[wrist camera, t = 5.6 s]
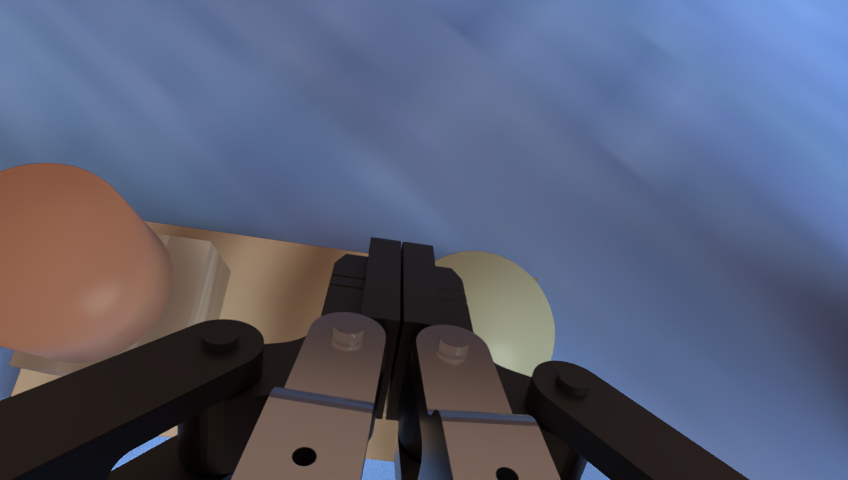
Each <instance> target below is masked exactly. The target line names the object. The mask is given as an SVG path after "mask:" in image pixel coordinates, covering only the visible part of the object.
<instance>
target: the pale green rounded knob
mask: <svg viewBox="0 0 848 480" xmlns="http://www.w3.org/2000/svg"><path fill="white" fill-rule="evenodd" d="M435 266H439V267H446V268H452V269H453V270H454V271H455V272H456V273H457V275H458V276H459V277H460V278H461V279H462V281H463V285H464V290H465V295H466V299H467V304H468V309H469V313H470V318H471V323H472V327H473V332H474V334H476V335H477V336H479V337H480V338H481V339H482V340H483V341H484V342H485V343H486V344H487V346H488V348H489V350H490V353H491V356H492V359H493V361H494V362H495V363H496V364H498V365H500V366H502V367H504V368H507V369H509V370H512V371H515V372H518V373H521V374H524V375H527V376H530V377H532V374H533V371H534V369H535V367H536V366H537V365H539V364H541V363H543V362H547V361H550V360H551V357H552V354H553V349H554V342H555V326H554V320H553V315H552V311H551V308H550V305H549V303H548V301H547V298H546V296H545V295H544V293H543V291H542V289H541V288H540V286H539V285H538V284H537V283H536V281H535V280H534V279H533V278H532V277H531V276H530V275H529V274H528V273H527V272H526V271H525V270H524V269H522V268H521V267H520V266H518V265H517V264H515V263H514V262H512V261H510V260H508V259H506V258H504V257H502V256H499V255H496V254H492V253H488V252H481V251H464V252H458V253H454V254H451V255H447V256H445V257H443V258H441V259H438V260H437V261H435Z"/></svg>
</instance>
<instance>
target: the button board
mask: <svg viewBox="0 0 848 480" xmlns="http://www.w3.org/2000/svg"><path fill="white" fill-rule="evenodd" d="M144 222H145V223H146V224H147V225H148V226H149V227H150V228H151V229H152V230H153V231H154V232H155V233H156V235H157V236H158V237H159V238H160V239H161V241H162V242H163V244H164V245H165V247H166V249H167V251H168V254H169V256H170V259H171V263H172V270H173V282H172V289H171V294H170V297H169V300H168V303H167V305H166V307H165V309H164V311H163V313H162V315H161V316H160V318H159V319H158V321H157V322H156V323H155V325H154V326H153V327H152V328H151V329H150V330H149V331H148V332H147V333H146V334H145V335H144V336H143V337H142V338H141V339H140V340H138V341H137V342H136V343H134V344H133V345H131V346H130V347H128V348H126V349H125V350H123V351H121V352H119V353H117V354H114V355H112V356H110V357H107V358H103V359H100V360H96V361H91V362H82V363H67V362H60V361H54V360H50V359H46V358H43V357H39V356H35V355H31V354H27V353H24V352H20V351H16V350H14V353H13V355H12V358H11V360H10V363H9V366H13V367H17V368H21V371H20V373H19V376H18V379H17V382H16V384H15V387H14V390H13V392H12V395H11V396H14V395H17V394H19V393H22V392H24V391H27V390H29V389H32V388H34V387H37V386H39V385H42V384H45V383H47V382H50V381H52V380H55V379H57V378H60V377H62V376H65V375H67V374H70V373H73V372H75V371H78V370H80V369H83V368H85V367H88V366H90V365H93V364H95V363H98V362H101V361H103V360H106V359H108V358H111V357H113V356H116V355H118V354H121V353H123V352H126V351H128V350H131V349H134V348H136V347H139V346H141V345H144V344H146V343H149V342H151V341H154V340H156V339H159V338H162V337H164V336H167V335H169V334H172V333H174V332H177V331H179V330H182V329H184V328H187V327H190V326H192V325H195V324H197V323H200V322H204V321H209V320H216V319H231V320H238V321H242V322H245V323H248V324H250V325H252V326H254V327H255V328H256V329H258V330H259V331H260V333H261V334H262V336H263V338H264V344H270V343H282V342H289V341H293V340H297V339H300V338H302V337H304V336H306V335H307V333H308V331H309V328H310V326H311V325H312V323H313V322H314V321H315V320H316V319H318V318H319V317H321V313H322V309H323V306H324V302H325V298H326V294H327V290H328V286H329V282H330V278H331V275H332V271H333V267H334V263H335V262H336V261H337V260H339V259H340V258H341V257H342V256H344V255H345V254H352V255H359V256H366V257H368V254H367V253H360V252H353V251H347V250H340V249H333V248H326V247H319V246H312V245H305V244H298V243H292V242H285V241H278V240H271V239H264V238H257V237H250V236H244V235H237V234H230V233H223V232H216V231H209V230H202V229H196V228H189V227H182V226H175V225H168V224H161V223H154V222H147V221H144ZM533 279H534V280H535V281H536V283H537V278H533ZM386 397H387V396H386ZM397 433H398V421H394V420H386V401H385V407H384V412H383V418H382V419H375V425H374V431H373V435H372V437H371V439H370V440H369V442H368V446H367V451H366V457H365V458H366V459H375V460H384V461H393V462H394V448H395V443H396V438H397ZM177 434H178V431H177V426H175V427H173V428H172V429H170V430H168V431H166V432H164V433H162V434H160V435H159V436H165V437H174V436H176V435H177Z"/></svg>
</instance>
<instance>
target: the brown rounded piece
mask: <svg viewBox="0 0 848 480" xmlns="http://www.w3.org/2000/svg"><path fill="white" fill-rule="evenodd" d="M172 282H173V270H172V263H171V259H170V256H169V254H168V251H167V249H166V247H165V245H164V244H163V242H162V241H161V239H160V238H159V237H158V236H157V235H156V233H155V232H154V231H153V230H152V229H151V228H150V227H149V226H148V225H147V224H146V223H145V222H144V221H143V219H142V218H141V217H140V216H139V215H138V214H137V213H136V212H135V211H134V210H133V209H132V208H131V207H130V205H129V204H128V203H127V202H126V201H125V200H124V199H123V198H122V197H121V196H120V195H119V194H118V192H117V191H116V190H115V189H114V188H113V187H111V186H110V185H109V184H108V183H107V182H106V181H104V180H103V179H101V178H100V177H98V176H97V175H95V174H93V173H90V172H88V171H86V170H83V169H80V168H77V167H74V166H69V165H64V164H55V163H36V164H28V165H22V166H17V167H13V168H9V169H6V170H3V171H0V346H1V347H5V348H8V349H12V350H16V351H20V352H24V353H27V354H31V355H35V356H39V357H43V358H46V359H50V360H54V361H60V362H67V363H82V362H91V361H96V360H100V359H103V358H107V357H110V356H112V355H114V354H117V353H119V352H121V351H123V350H125V349H126V348H128V347H130V346H131V345H133V344H134V343H136V342H137V341H138V340H140V339H141V338H142V337H143V336H144V335H145V334H146V333H147V332H148V331H149V330H150V329H151V328H152V327H153V326H154V325H155V323H156V322H157V321H158V319H159V318H160V316H161V315H162V313H163V311H164V309H165V307H166V305H167V303H168V300H169V297H170V294H171V289H172Z"/></svg>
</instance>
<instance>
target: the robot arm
mask: <svg viewBox="0 0 848 480" xmlns="http://www.w3.org/2000/svg"><path fill="white" fill-rule="evenodd" d="M386 396H387V397H386ZM385 401H386V420H394V421H398V433H397V438H396V443H395V448H394V465H395V478H396V480H580V479H581V476H582V474H583V471H584V469H585V466H586V464H587V461H588V462H590V463H591V464H592V465H593V466H594V467H596V468H597V469H598V470H599V471H601V472H602V473H603V474H604V475H606V476H607V477H608V478H609V479H610V480H749V479H748V478H746V477H745V476H743V475H742V474H740V473H739V472H737V471H736V470H734V469H733V468H731V467H730V466H728V465H727V464H725V463H724V462H723V461H721V460H720V459H718V458H717V457H715V456H714V455H712V454H711V453H709V452H708V451H706V450H705V449H703V448H702V447H701V446H699V445H698V444H696V443H695V442H693V441H692V440H690V439H689V438H687V437H686V436H684V435H683V434H681V433H680V432H678V431H677V430H676V429H674V428H673V427H671V426H670V425H668V424H667V423H665V422H664V421H662V420H661V419H659V418H658V417H656V416H655V415H653V414H652V413H651V412H649V411H648V410H646V409H645V408H643V407H642V406H640V405H639V404H637V403H636V402H634V401H633V400H631V399H630V398H628V397H627V396H626V395H624V394H623V393H621V392H620V391H618V390H617V389H615V388H614V387H612V386H611V385H609V384H608V383H606V382H605V381H603V380H602V379H601V378H599V377H598V376H596V375H595V374H593V373H592V372H590V371H588V370H587V369H584V368H582V367H580V366H578V365H575V364H572V363H568V362H563V361H547V362H543V363H541V364H539V365H537V366H536V367H535V369H534V371H533V374H532V377H530V376H527V375H524V374H521V373H518V372H515V371H512V370H509V369H507V368H504V367H502V366H500V365H498V364H496V363H495V362H494V361H493V359H492V356H491V353H490V350H489V348H488V346H487V344H486V343H485V342H484V341H483V340H482V339H481V338H480V337H479V336H477V335H476V334H474V332H473V327H472V323H471V318H470V313H469V309H468V304H467V299H466V295H465V290H464V285H463V281H462V279H461V278H460V277H459V276H458V275H457V273H456V272H455V271H454V270H453V269H452V268H446V267H439V266H435V259H434V251H433V246H430V245H423V244H416V243H409V242H403V243H402V247H401V241H395V240H388V239H381V238H374V237H371V241H370V247H369V254H368V257H366V256H359V255H352V254H345V255H344V256H342V257H341V258H340V259H339V260H337V261H336V262H335V263H334V267H333V271H332V275H331V278H330V282H329V286H328V290H327V294H326V298H325V302H324V306H323V309H322V313H321V317H319V318H318V319H316V320H315V321H314V322H313V323H312V325H311V326H310V328H309V331H308V333H307V335H306V336H304V337H302V338H300V339H297V340H293V341H289V342H282V343H270V344H264V338H263V336H262V334H261V333H260V331H259V330H258V329H256V328H255V327H254V326H252V325H250V324H248V323H245V322H242V321H238V320H231V319H216V320H209V321H204V322H200V323H197V324H195V325H192V326H190V327H187V328H184V329H182V330H179V331H177V332H174V333H172V334H169V335H167V336H164V337H162V338H159V339H156V340H154V341H151V342H149V343H146V344H144V345H141V346H139V347H136V348H134V349H131V350H128V351H126V352H123V353H121V354H118V355H116V356H113V357H111V358H108V359H106V360H103V361H101V362H98V363H95V364H93V365H90V366H88V367H85V368H83V369H80V370H78V371H75V372H73V373H70V374H67V375H65V376H62V377H60V378H57V379H55V380H52V381H50V382H47V383H45V384H42V385H39V386H37V387H34V388H32V389H29V390H27V391H24V392H22V393H19V394H17V395H14V396H11V397H9V398H6V399H4V400H1V401H0V480H361V479H362V474H363V468H364V463H365V457H366V451H367V446H368V442H369V440H370V439H371V437H372V435H373V431H374V425H375V419H382V418H383V412H384V407H385ZM175 426H177V431H178V434H177V435H176V436H174V437H172V438H170V439H168V440H167V441H165V442H163V443H161V444H159V445H158V446H156V447H154V448H152V449H150V450H149V451H147V452H145V453H143V454H141V455H139V456H138V457H136V458H134V459H132V460H130V461H129V462H127V463H125V464H123V465H121V466H120V467H118V468H116V469H114V470H112V468H113V467H114V465H115V464H116V463H117V462H118V461H119V460H120V459H121V458H122V457H123V456H124V455H125V454H127V453H128V452H129V451H131V450H133V449H135V448H136V447H138V446H140V445H142V444H144V443H146V442H147V441H149V440H151V439H153V438H155V437H157V436H159V435H160V434H162V433H164V432H166V431H168V430H170V429H172V428H173V427H175ZM111 470H112V471H111ZM110 471H111V472H110Z"/></svg>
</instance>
